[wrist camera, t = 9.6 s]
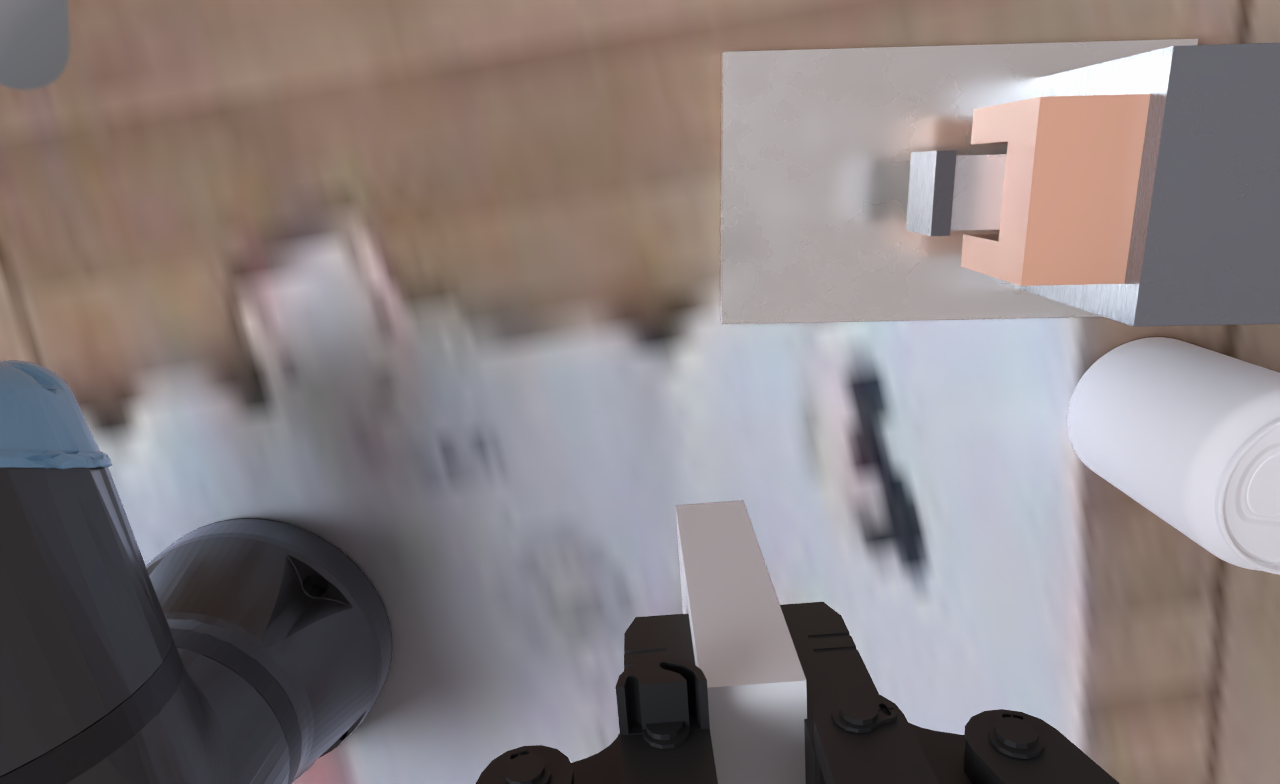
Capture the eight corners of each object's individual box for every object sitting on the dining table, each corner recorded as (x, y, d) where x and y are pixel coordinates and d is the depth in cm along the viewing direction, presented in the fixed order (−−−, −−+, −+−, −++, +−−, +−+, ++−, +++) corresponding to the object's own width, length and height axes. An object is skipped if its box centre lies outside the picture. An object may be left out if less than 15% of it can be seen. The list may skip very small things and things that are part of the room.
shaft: (905, 230, 37) (930, 236, 33) (910, 152, 36) (936, 150, 32) (1281, 222, 36) (1344, 227, 33) (1296, 143, 35) (1362, 140, 32)
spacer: (960, 266, 38) (1021, 286, 32) (973, 109, 36) (1040, 96, 30) (1046, 264, 38) (1124, 283, 31) (1064, 106, 36) (1150, 93, 30)
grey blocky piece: (720, 319, 42) (741, 371, 32) (721, 55, 39) (745, 11, 28) (1142, 311, 42) (1311, 361, 31) (1181, 42, 38) (1387, -7, 28)
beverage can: (1091, 320, 42) (1256, 377, 30) (1238, 351, 42) (1457, 419, 31) (1040, 462, 44) (1175, 565, 33) (1180, 490, 44) (1364, 603, 33)
